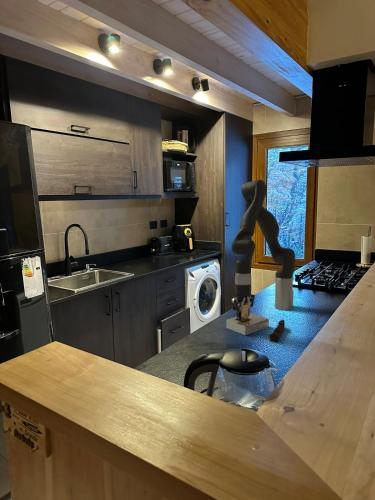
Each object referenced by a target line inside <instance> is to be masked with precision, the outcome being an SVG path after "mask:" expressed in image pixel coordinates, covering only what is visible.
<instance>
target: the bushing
mask: <svg viewBox="0 0 375 500" xmlns="http://www.w3.org/2000/svg"><path fill="white" fill-rule="evenodd" d="M239 305H241V304H239ZM238 309H239V308H238ZM238 321H240V322H243V323H244V322H247V321H248V304H247V303H246V304H243V307H242V309H241V319H240V320H239V319H238Z"/></svg>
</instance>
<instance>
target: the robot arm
mask: <svg viewBox="0 0 375 500" xmlns="http://www.w3.org/2000/svg"><path fill="white" fill-rule="evenodd" d="M241 193H242V197H243V199H244V201H245V202H246V204H247V206H248V207H247V210H246V211H245V212H244V213H243V215H242V216H241V219H240V224H239V229H238V231H237V233H236V236H235V237H234V239H233V241H232V243H231V251H232V253H233V254H234V255H240V256H241V255H243V256H245V257H244V258H241V259H237V260H236V261H235V275H234V276H235V277H234V292H235V297H234V298H231V299H230V301H231V303H230V304H231V307H232V311H235V313H236V315H235V317H237V319H239V320H240V319H241V309H242V307H243V304H246V303H247V304H248V317H249V315H250V313H251V308H253V307H254V303H255V299H256V298H255V297H256V295H255V294H254V293H252V262H253V258H254V253H255V252H256V244H255V242H254V240H253V239H251V238H252V237H253V236H254V234H255V229H256V223H257V224H258V227H259V229H260V231H261V233H262V235H263V238H264V239H265V242H266V244H267V246H268V250H269V251H270V255H271V258H272V260H273V262H274V263H275V264H277V265H282V268H281V270H276V272H275V274H274V275H275V276H274V277H275V279H274V282H275V284H274V291H275V292H274V308H275V309H277V310H280V311H281V310H283V311H287V310H288V311H289V310H292V309H293V307H294V290H293V287H294V274H295V268H296V267H295V266H296V252H295V250H293V249H292V248H290V247H289V248H288V247H282V246H281V244H280V242H279V235H280V234H279V233H280V226H279V223H278V221H277V218H276V216H275V215H274V214H273V213H272V212H270V211H269V210H268V209H266V208H265V207H264V206H263V204H264V202H265V198H266V195H267V185H266V182H265V180H263V179H256V180H252V181H247V182H245V183H243V184H242V185H241ZM249 238H250V239H249ZM239 304H241V305H239ZM238 308H239V309H238Z"/></svg>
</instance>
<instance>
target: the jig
mask: <svg viewBox="0 0 375 500" xmlns="http://www.w3.org/2000/svg"><path fill="white" fill-rule="evenodd" d="M225 325H226V329H229V330H231V331H233V332H236V333H239V334H242V335H243V336H247V335H250V334H253V333H255V332H259V331H261V330H264V329H266V328H269V327H270V318H268V317H265V316H262V315H259V314H255V313H252V312H250V315H249V317H248V321H247V322H244V323H243V322H240V321H238V319H237V317H236V316H234V317H231V318H227V319H226V324H225Z"/></svg>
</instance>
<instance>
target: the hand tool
mask: <svg viewBox="0 0 375 500" xmlns="http://www.w3.org/2000/svg"><path fill="white" fill-rule="evenodd" d="M285 323H286V322H285V319H281V320H279V321H278V322H277V326H276V327H275V329H274V330H273V331H272V332H271V333H270V334H269V339H268V340H269V341H270V342H273V343H278V342H279V340H280V337H281V336H282V333H284V332H285V327H286V326H285Z"/></svg>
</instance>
